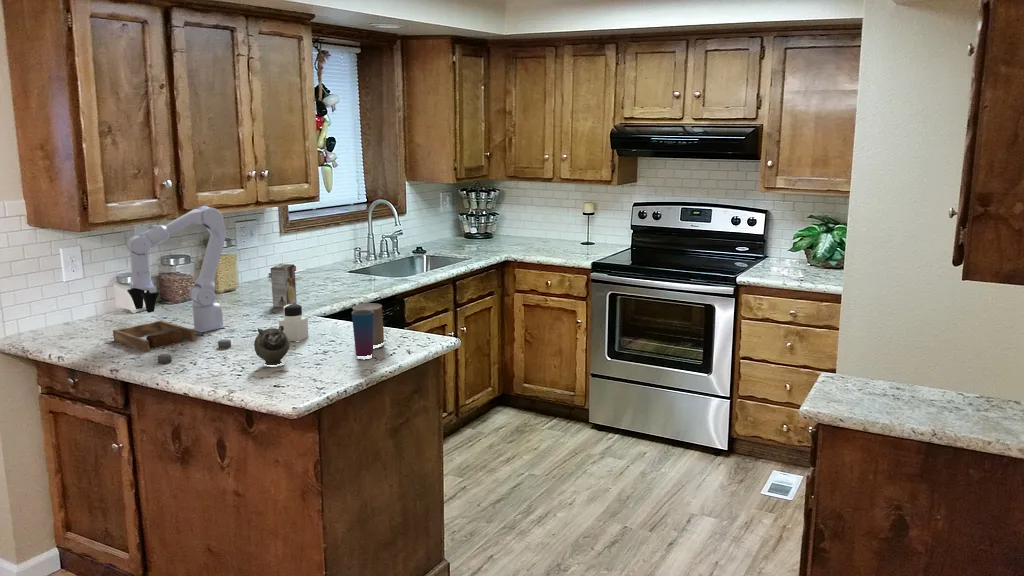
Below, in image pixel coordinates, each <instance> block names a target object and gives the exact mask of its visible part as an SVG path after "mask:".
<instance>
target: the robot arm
mask: <svg viewBox="0 0 1024 576" xmlns="http://www.w3.org/2000/svg"><path fill="white" fill-rule="evenodd" d="M190 225H202V226H203V227H205V229H206V231H208V233H209V237H208V238H209V239H208V242H207V246H206V249H205V253H204V257H203V261H202V263H201V264H202V265H201V268H200V271H199V275H198V277H197V278H196V280H195V281H194V283H193V286H192V287H191V288H190V289H189V298H190V299H191V301H192V304H191V305H192V306H191V307H192V315H193V317H192V318H193V326H192V327H191V326H190V327H189V329H192V330H194V331H195V332H198V333H206V332H209V331H213V330H214V331H215V330H218V329H222V328H225V325H224V321H223V320H224V319H223V318H224V317H223V309H222V306H221V305H220V303H219V302H215V299H216V294H215V288H216V286H215V285H216V284H215V278H216V274H217V270H218V267H219V264H220V259H221V256H222V252H223V247H224V245H225V243H226V242H225V241H226V237H227V233H228V232H227V229H226V225H225V222H224V216H223V214H222V213H221V211H219V210H218V209H217V208H215V207H210V206H207V205H201V206H198V208H194V209H191V210H190V211H188V212H186V213H185V214H183V215H181V216H179V217H178V218H176V219H174V220H172V221H171V222H169V223H166V224H165V225H163V224H158V225H157V224H153V225H152V226H151V227H152V228H150V229H148V230H146V231H144V232H143V231H142V232H139V234H138V235H134V236H131V237H130V238H128V239H129V240H128V241H127V244H126V247H127V249H128V251H129V252H130V253H129V254H130V269H131V277H132V281H128V284H129V288H130V289H126V290H127V291H126V292H127V293H128V294H129V297H130V298H131V300H132V302H133V304H134V307H135V309H136V310H141V309H143V308H144V306H145V310H146V313H148V314H149V313H150V314H151V313H154V312H155V307H156V303H157V299H158V297H159V295H160V292H159V290H157V286H155V285H154V284H153V283H152V275H151V265H150V257H149V251H150V250H151V248H152V249H153V248H154V247H156V246H158V245H160V244H162V243H163V242H166V241H168V240H169V239H170V237H171V236H170V235H171V234H173V233H176V232H177V231H179V230H182V229H183V228H186V227H188V226H190Z"/></svg>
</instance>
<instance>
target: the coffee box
mask: <svg viewBox="0 0 1024 576" xmlns="http://www.w3.org/2000/svg"><path fill="white" fill-rule="evenodd" d="M295 270H296V269H295V264H293V263H292V264H291V263H290V264H289V263H279V264H278V265H275V266H272V267H270V279H271V280H270V281H271V293H272V294H271V295H272V307H274V308H283V307H284V306H286V305H289V304H297V301H298V300H297V285H296V284H297V283H296V273H295Z"/></svg>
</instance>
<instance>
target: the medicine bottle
mask: <svg viewBox="0 0 1024 576" xmlns="http://www.w3.org/2000/svg"><path fill="white" fill-rule="evenodd" d="M302 308H303V307H302V305H300V304H299V303H298V304H297V303H294V304H289V305H286V306H284V307H282V309H283V317H284V318H282V319H280V320H279V321H278V328H279V327H280V326H283V327H284V330H283V332H284V333H285V334H286V336H287V337H288V340H289V342H291V341H299V342H301V341H303V340H305V339H307V338H309V322H308V317H307V316H303V310H302ZM306 337H307V338H306ZM304 338H305V339H304ZM302 339H303V340H302ZM300 340H301V341H300Z"/></svg>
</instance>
